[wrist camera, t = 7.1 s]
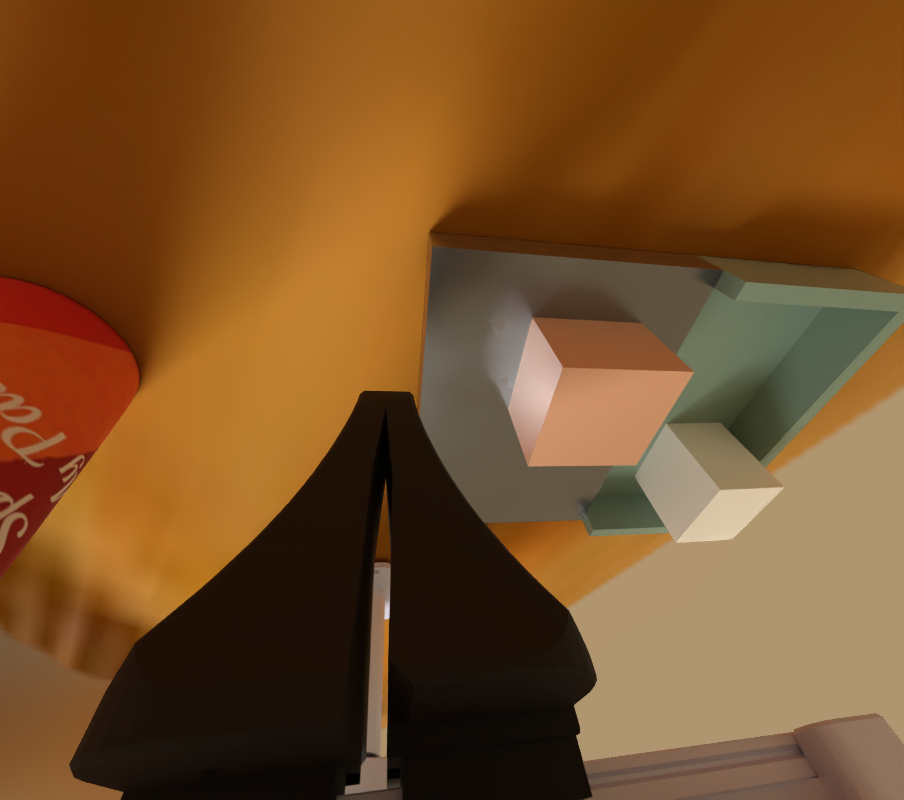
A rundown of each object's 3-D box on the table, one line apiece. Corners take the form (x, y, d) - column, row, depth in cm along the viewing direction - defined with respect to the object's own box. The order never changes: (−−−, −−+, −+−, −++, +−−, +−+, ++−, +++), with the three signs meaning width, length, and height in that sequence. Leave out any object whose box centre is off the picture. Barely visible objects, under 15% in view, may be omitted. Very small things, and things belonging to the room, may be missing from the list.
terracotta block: (507, 409, 15) (527, 466, 12) (532, 317, 12) (563, 367, 10) (600, 410, 15) (636, 465, 13) (641, 323, 13) (694, 372, 11)
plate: (410, 501, 20) (411, 525, 19) (428, 232, 12) (432, 246, 11) (572, 497, 22) (582, 519, 21) (695, 255, 13) (724, 270, 12)
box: (572, 497, 22) (589, 536, 20) (695, 255, 13) (746, 281, 11) (679, 495, 23) (704, 531, 21) (856, 269, 14) (928, 295, 12)
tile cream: (675, 542, 18) (731, 539, 18) (720, 489, 15) (784, 487, 15) (634, 476, 21) (683, 474, 21) (665, 423, 18) (720, 422, 19)
